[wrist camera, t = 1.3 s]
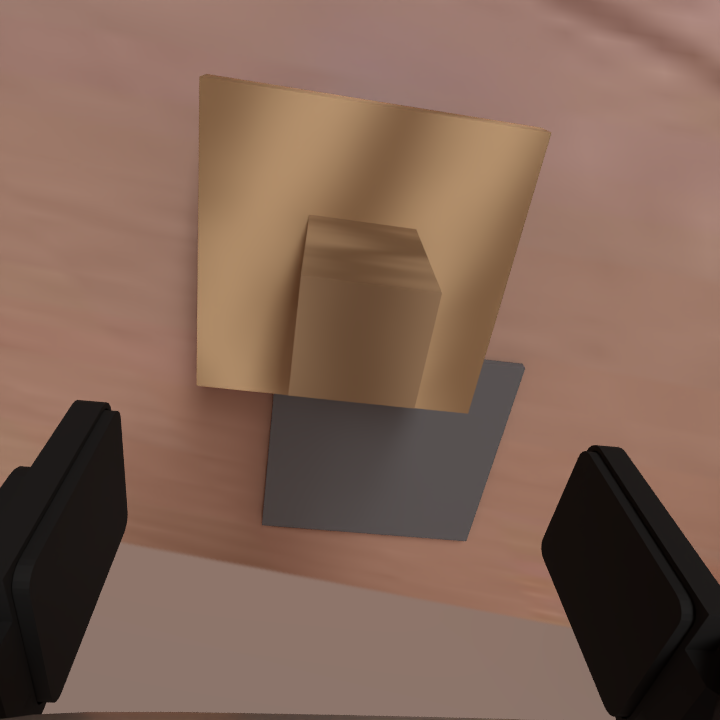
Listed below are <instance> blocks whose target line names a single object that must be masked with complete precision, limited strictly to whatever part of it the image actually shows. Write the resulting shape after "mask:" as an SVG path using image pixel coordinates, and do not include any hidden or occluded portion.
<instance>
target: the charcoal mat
mask: <svg viewBox="0 0 720 720" xmlns="http://www.w3.org/2000/svg"><path fill="white" fill-rule="evenodd" d="M524 370H525V367H524V366H523V364H519V363H510V362H501V361H492V360H484V362H483V365H482V368H481V372H480V375H479V378H478V382H477V385H476V389H475V392H474V395H473V399H472V402H471V405H470V409H469V412H468V414H466V413H457V412H447V411H437V410H428V409H418V408H415V409H414V408H405V407H395V406H385V405H376V404H366V403H356V402H346V401H337V400H327V399H317V398H308V397H298V396H288V395H282V394H274V397H273V408H272V420H271V431H270V442H269V453H268V464H267V475H266V487H265V498H264V509H263V520H262V525H267V526H279V527H292V528H305V529H318V530H330V531H343V532H356V533H368V534H381V535H394V536H407V537H419V538H432V539H445V540H458V541H466V540H467V537H468V534H469V532H470V529H471V526H472V523H473V520H474V517H475V514H476V511H477V508H478V505H479V502H480V499H481V496H482V493H483V490H484V487H485V485H486V482H487V479H488V476H489V473H490V470H491V467H492V464H493V461H494V458H495V455H496V452H497V449H498V446H499V443H500V440H501V438H502V435H503V432H504V429H505V426H506V423H507V420H508V417H509V414H510V411H511V408H512V405H513V402H514V399H515V396H516V393H517V391H518V388H519V385H520V382H521V379H522V376H523V373H524Z"/></svg>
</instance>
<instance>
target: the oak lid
mask: <svg viewBox="0 0 720 720" xmlns="http://www.w3.org/2000/svg"><path fill="white" fill-rule="evenodd" d="M550 136H551V132H549V131H547V130H544V129H542V128H539V127H533V126H527V125H521V124H515V123H508V122H502V121H496V120H490V119H483V118H477V117H471V116H465V115H458V114H452V113H446V112H440V111H434V110H427V109H421V108H415V107H409V106H402V105H396V104H390V103H384V102H377V101H371V100H365V99H359V98H353V97H346V96H340V95H334V94H328V93H321V92H315V91H309V90H303V89H296V88H290V87H284V86H278V85H272V84H265V83H259V82H253V81H247V80H240V79H234V78H228V77H222V76H216V75H209V74H206V75H203V76H200V81H199V187H198V292H197V386H205V387H214V388H224V389H234V390H243V391H253V392H263V393H272V394H282V395H288V396H298V397H308V398H317V399H327V400H337V401H346V402H356V403H366V404H376V405H385V406H395V407H405V408H414V409H415V408H418V409H428V410H437V411H447V412H457V413H466V414H468V412H469V409H470V405H471V402H472V399H473V395H474V392H475V389H476V385H477V382H478V378H479V375H480V372H481V368H482V365H483V362H484V358H485V355H486V351H487V348H488V345H489V341H490V338H491V335H492V331H493V328H494V324H495V321H496V318H497V314H498V311H499V308H500V304H501V301H502V297H503V294H504V291H505V287H506V284H507V281H508V277H509V274H510V270H511V267H512V264H513V260H514V257H515V254H516V250H517V247H518V244H519V240H520V237H521V233H522V230H523V227H524V223H525V220H526V217H527V213H528V210H529V206H530V203H531V200H532V196H533V193H534V190H535V186H536V183H537V179H538V176H539V173H540V169H541V166H542V163H543V159H544V156H545V152H546V149H547V146H548V142H549V139H550Z"/></svg>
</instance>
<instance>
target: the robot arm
mask: <svg viewBox="0 0 720 720" xmlns="http://www.w3.org/2000/svg"><path fill="white" fill-rule="evenodd" d="M127 515H128V514H127V498H126V484H125V470H124V457H123V443H122V429H121V417H120V413H119V412H118V411H111V407H110V405H109V403H106V402H95V401H83V400H76V401H75V402H74V403H73V404H72V405H71V407H70V408H69V410H68V411H67V413H66V414H65V416H64V418H63V419H62V421H61V422H60V424H59V425H58V427H57V428H56V430H55V431H54V433H53V434H52V436H51V437H50V439H49V440H48V442H47V443H46V445H45V446H44V448H43V449H42V451H41V452H40V454H39V455H38V457H37V458H36V460H35V461H34V463H33V464H32V466H31V467H24V466H20V467H18V468H16V469H14V470H13V472H12V473H11V474H10V475H9V476H8V478H7V479H6V481H5V482H4V484H3V485H2V486H1V488H0V720H518V719H482V718H441V717H440V718H439V717H399V716H354V715H308V714H307V715H306V714H252V713H251V714H250V713H198V712H196V713H195V712H193V713H192V712H83V713H61V714H42V712H43V709H44V707H45V704H46V702H56V701H57V700H58V698H59V697H60V694H61V692H62V690H63V687H64V684H65V682H66V680H67V677H68V675H69V672H70V670H71V667H72V664H73V662H74V659H75V657H76V654H77V652H78V649H79V647H80V644H81V641H82V639H83V636H84V634H85V631H86V628H87V626H88V624H89V621H90V618H91V616H92V613H93V611H94V608H95V606H96V603H97V600H98V598H99V595H100V592H101V590H102V587H103V585H104V583H105V580H106V578H107V575H108V572H109V570H110V567H111V565H112V562H113V560H114V557H115V554H116V552H117V549H118V547H119V544H120V542H121V539H122V537H123V534H124V531H125V528H126V523H127ZM541 550H542V556H543V559H544V561H545V564H546V566H547V569H548V571H549V574H550V576H551V578H552V581H553V583H554V586H555V588H556V590H557V593H558V595H559V598H560V600H561V603H562V605H563V607H564V610H565V612H566V615H567V617H568V620H569V622H570V624H571V627H572V629H573V632H574V634H575V636H576V639H577V641H578V643H579V646H580V649H581V651H582V653H583V656H584V658H585V661H586V663H587V666H588V668H589V670H590V672H591V675H592V678H593V680H594V682H595V684H596V687H597V690H598V692H599V695H600V697H601V699H602V702H603V704H604V706H605V708H606V710H607V712H608V713H609V714H610V715H611V716H615V717H616V720H720V585H719V584H718V582H717V581H716V579H715V578H714V577H713V575H712V574H711V572H710V571H709V569H708V568H707V567H706V565H705V564H704V562H703V561H702V560H701V558H700V557H699V555H698V554H697V552H696V551H695V550H694V548H693V547H692V545H691V544H690V543H689V541H688V540H687V538H686V537H685V536H684V534H683V533H682V531H681V530H680V528H679V527H678V526H677V524H676V523H675V521H674V520H673V519H672V517H671V516H670V514H669V513H668V512H667V510H666V509H665V507H664V506H663V504H662V503H661V502H660V500H659V499H658V497H657V496H656V495H655V493H654V492H653V490H652V489H651V488H650V486H649V485H648V483H647V482H646V480H645V479H644V478H643V476H642V475H641V473H640V472H639V471H638V469H637V468H636V466H635V465H634V464H633V462H632V461H631V459H630V458H629V456H628V455H627V454H626V452H625V451H624V450H623V449H622V448H619V447H610V446H598V445H593V446H591V447H590V448H588V450H587V451H584V452H582V453H581V454H580V455H579V457H578V460H577V462H576V464H575V466H574V469H573V471H572V473H571V476H570V478H569V480H568V482H567V485H566V487H565V489H564V492H563V494H562V496H561V498H560V501H559V503H558V505H557V508H556V510H555V512H554V515H553V517H552V519H551V521H550V524H549V526H548V528H547V531H546V533H545V535H544V537H543V540H542V546H541Z"/></svg>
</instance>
